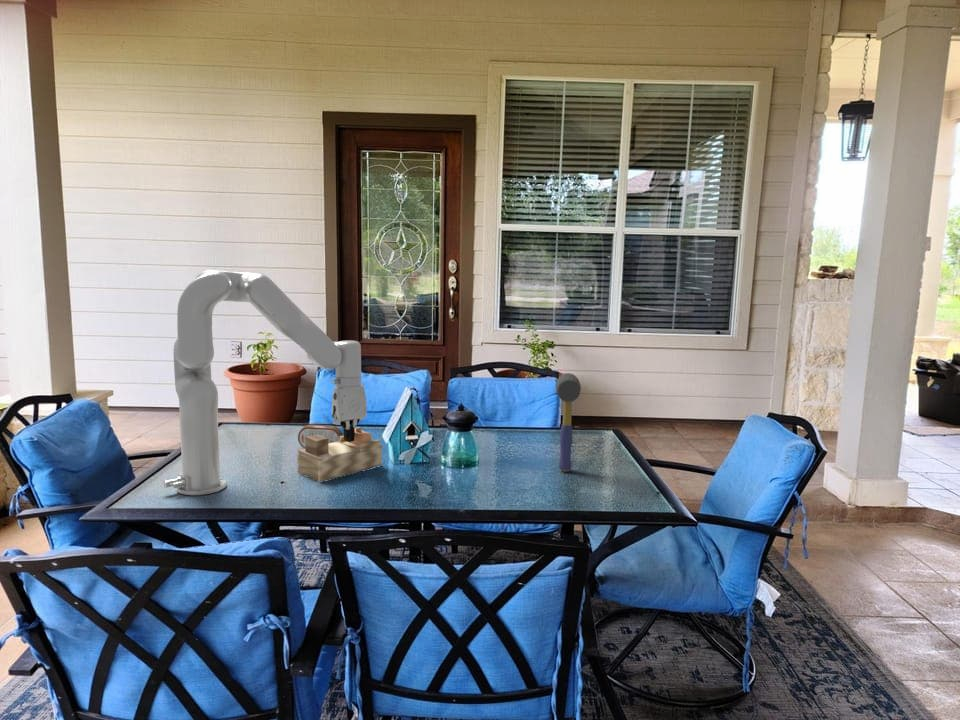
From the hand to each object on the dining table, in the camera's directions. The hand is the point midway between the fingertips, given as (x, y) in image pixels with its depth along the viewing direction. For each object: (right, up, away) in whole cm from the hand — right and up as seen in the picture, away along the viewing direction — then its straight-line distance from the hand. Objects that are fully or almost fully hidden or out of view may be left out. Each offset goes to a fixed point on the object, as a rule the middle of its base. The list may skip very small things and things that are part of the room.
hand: (349, 440), depth 200 cm
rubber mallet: (+66, -10, +2) cm, 67 cm away
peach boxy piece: (+2, -1, +3) cm, 4 cm away
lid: (-5, -3, -5) cm, 8 cm away
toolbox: (-2, -9, -1) cm, 9 cm away
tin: (-13, -6, +19) cm, 24 cm away
